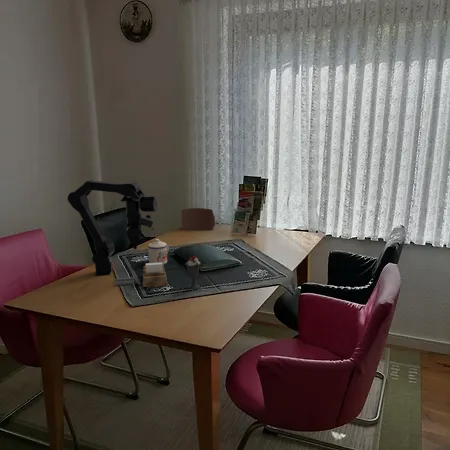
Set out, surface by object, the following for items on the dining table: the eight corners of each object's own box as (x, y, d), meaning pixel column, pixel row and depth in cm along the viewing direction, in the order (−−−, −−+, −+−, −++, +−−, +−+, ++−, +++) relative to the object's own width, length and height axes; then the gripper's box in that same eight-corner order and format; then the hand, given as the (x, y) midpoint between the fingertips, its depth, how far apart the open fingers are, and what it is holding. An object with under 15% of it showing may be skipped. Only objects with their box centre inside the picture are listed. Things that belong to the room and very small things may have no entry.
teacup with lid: (159, 266, 200) (157, 243, 197) (144, 263, 205) (143, 240, 202) (175, 259, 210) (174, 237, 207) (161, 257, 215) (160, 234, 212)
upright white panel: (146, 279, 181) (145, 265, 179) (146, 277, 183) (145, 263, 182) (163, 278, 182) (162, 264, 181) (162, 276, 185) (162, 262, 183)
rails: (114, 285, 178) (114, 282, 177) (115, 281, 182) (115, 279, 182) (134, 284, 179) (134, 281, 179) (134, 280, 184) (134, 277, 183)
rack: (143, 287, 175) (142, 278, 174) (142, 275, 189) (142, 266, 188) (167, 285, 177) (167, 276, 176) (165, 273, 191) (165, 264, 190)
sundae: (189, 291, 171) (188, 255, 167) (183, 285, 177) (181, 251, 173) (204, 288, 174) (203, 252, 170) (197, 282, 180) (196, 248, 176)
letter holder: (213, 230, 266) (212, 208, 263) (181, 230, 268) (181, 208, 265) (215, 226, 276) (214, 205, 273) (184, 226, 278) (184, 205, 275)
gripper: (152, 214, 177) (154, 250, 181) (151, 206, 195) (153, 239, 198) (125, 216, 175) (127, 252, 179) (126, 207, 193) (128, 240, 196)
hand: (135, 246), depth 188 cm, fingers open, 9 cm apart
